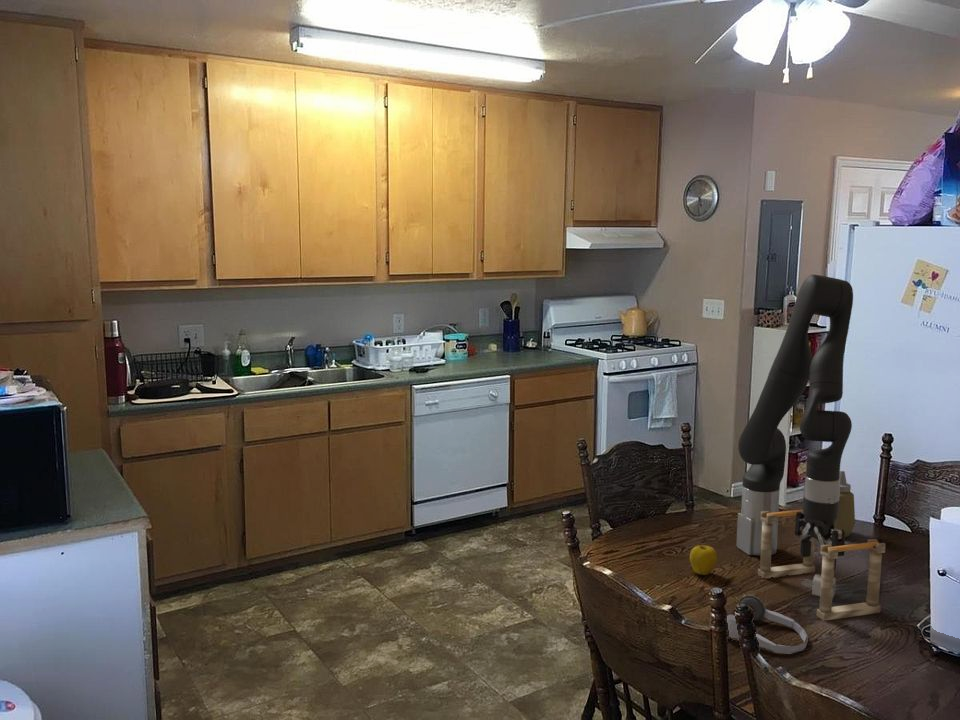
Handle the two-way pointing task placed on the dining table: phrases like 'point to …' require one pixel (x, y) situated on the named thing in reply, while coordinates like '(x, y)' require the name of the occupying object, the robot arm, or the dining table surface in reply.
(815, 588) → the usb wall charger
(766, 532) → the wooden parallette bars
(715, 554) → the apple
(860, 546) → the orange rod
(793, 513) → the orange wooden rod
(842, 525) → the squeeze bottle
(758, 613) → the headphones
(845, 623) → the dining table surface
